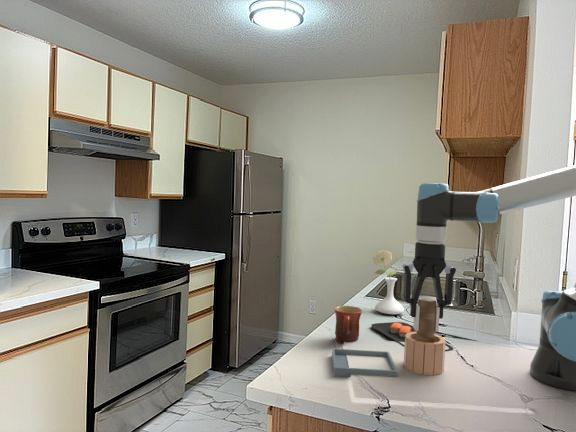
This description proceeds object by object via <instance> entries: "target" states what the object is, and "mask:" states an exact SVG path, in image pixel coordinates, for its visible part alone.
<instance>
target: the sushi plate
mask: <svg viewBox="0 0 576 432" xmlns="http://www.w3.org/2000/svg"><path fill="white" fill-rule="evenodd" d="M371 328H372V329H374V330H375V331H377V332H379V333H380V334H382V335H383V336H385V337H387V338H388V339H391V341H393V342H396V343H398V344H399V345H401V346H402V347H405V335H406V334H407V333H409V332H417V331H415V329H414V328H413V325H411V324H409V323H407V322H404V321H403V322H401V321H392V322H390V321H389V322H378V323H377V322H376V323H372V324H371ZM434 334H438V335H439V334H440V335H444V336H447V337H452V338H455V339H456V338H457V339H460V340H467V341H473V342H478V340H476V339H472V338H467V337H463V336H460V335H459V336H458V335H454V334H450V333H444V332H439V331H438V332H435V333H434ZM403 343H404V344H403ZM445 347H446V349H445V352H450V351H453V350H454V347H453V346H452V345H450V344H449V343H445ZM447 348H448V349H447Z"/></svg>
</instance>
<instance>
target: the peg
mask: <svg viewBox="0 0 576 432" xmlns="http://www.w3.org/2000/svg"><path fill="white" fill-rule="evenodd" d="M417 304H418V305H419V306H420V312H419V331H417V336H416V340H417V341H421V342H429V343H434V333H435V315H436V305H437V300H436V299H431V298H423V297H422V298H419V299H418V302H417ZM435 334H436V333H435Z"/></svg>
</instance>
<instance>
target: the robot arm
mask: <svg viewBox="0 0 576 432" xmlns="http://www.w3.org/2000/svg"><path fill="white" fill-rule="evenodd" d="M575 196H576V164H574V165H569V166H567V167H563V168H560V169H556V170H553V171H548V172H545V173H542V174H538V175H535V176H531V177H527V178H524V179H520V180H516V181H512V182H508V183H505V184H502V185H498V186H495V187H491V188H487V189H483V190H479V191H452V190H450V188H449V184H447V183H435V182H433V183H432V182H431V183H430V182H428V183H427V182H425V183H424V182H423V183H421V184H420V185H419V187H418V193H417V200H416V202H417V204H416V205H417V206H416V230H415V240H416V242H415V244H414V246H415V247H414V258H413V260H412V263H408V264H406V263H404V264H403V265H402V270H403V273H404V279H403V280H404V281H403V282H404V283H403V285H404V286H403V301H405V303H407V304H410V310H409V311H410V313H409V315H410V316H411V317H412V318H413V325H412V326H413V328H414V329H415V331H419V312H420V306H419V305H418V299H420V296H421V295H420V294H421V292H422V290H423V289H422V288H423V285H424V282H425V280H426V278H431V279H432V282H433V288H434V293H435V294H434V295H435V301H436V315H435V332H439V329H440V327H439V326H440V319H443V318H444V308H445V307H446V306H448V305H449V306H450V305H451V304H452V297H453V288H454V287H453V285H454V276H455V275H456V272H457V268H455V267H454V266H450V265H447V263H446V260H445V259H446V257H445V256H446V245H445V242H446V241H447V226H448V225H447V222H448V221H450V222H451V221H452V222H453V221H455V222H466V223H467V222H468V223H480V224H486V223H487V224H490V223H491V224H492V223H496V222H497V221H498V219H499V218H498V217H499V215H502V214H507V213H511V212H514V211H520V210H523V209H527V208H531V207H534V206H539V205H543V204H546V203H551V202H555V201H560V200H564V199H568V198H571V197H575ZM414 269H415V271H416V272H417V274H416V280H415V284H414V287H413V291H412V272H413V270H414ZM443 271H444V272H445V281H444V295H443V291H442V290H443V288H442V285H441V276H440V275H441V273H442V272H443ZM411 291H412V293H411ZM538 343H539V344H538V348H537V349H536V352H535V354H534V356H533V358H532V360H531V362H530V365H529V366H530V367H529V374H530V375H531V376H532V377H533V378H535V379H536V380H537V381H539V382H541V383H544V384H546V385H548V386H552V387H555V388H559V389H562V390H567V391H574V392H576V282H575V283H574V286H572V287H570V288H567V289H564V290H563V291H561V290H550V289H548V290H545V291H544V292H543V294H542V298H541V315H540V329H539V342H538Z"/></svg>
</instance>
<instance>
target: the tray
mask: <svg viewBox="0 0 576 432" xmlns="http://www.w3.org/2000/svg"><path fill="white" fill-rule="evenodd" d="M347 355H353V356H367V357H368V356H370V357H384V358H385V357H386V358H387V360H388V362H389V364H390V366H391V369H375V368H373V369H372V368H359V367H350V366H349V361H348V356H347ZM331 360H332V369H333V377H341V378H352V376H351V375H368V376H384V377H385V376H386V377H387V376H388V377H399V370H398V368H397V366H396V363H395V361H394V360H393V357H392V355H391V353H390V351H383V350H382V351H381V350H380V351H379V350H366V349H365V350H364V349H346V348H331Z"/></svg>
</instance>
